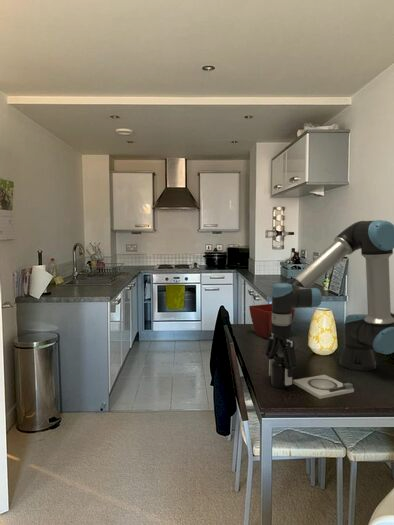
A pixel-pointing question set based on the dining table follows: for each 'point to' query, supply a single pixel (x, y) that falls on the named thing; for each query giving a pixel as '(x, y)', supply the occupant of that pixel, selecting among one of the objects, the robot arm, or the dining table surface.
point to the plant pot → (263, 319)
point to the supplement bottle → (278, 371)
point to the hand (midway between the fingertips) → (280, 379)
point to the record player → (323, 386)
